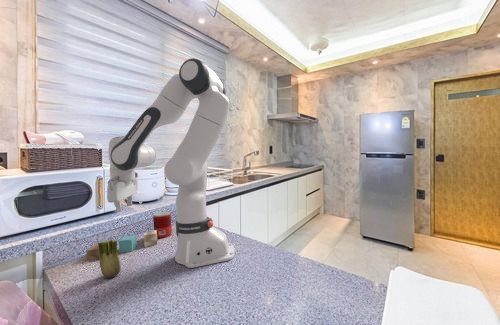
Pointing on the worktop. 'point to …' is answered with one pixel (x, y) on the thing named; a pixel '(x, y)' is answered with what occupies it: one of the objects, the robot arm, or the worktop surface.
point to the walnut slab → (93, 252)
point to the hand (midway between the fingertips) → (124, 208)
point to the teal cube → (127, 243)
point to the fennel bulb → (109, 258)
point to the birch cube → (150, 238)
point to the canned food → (162, 224)
